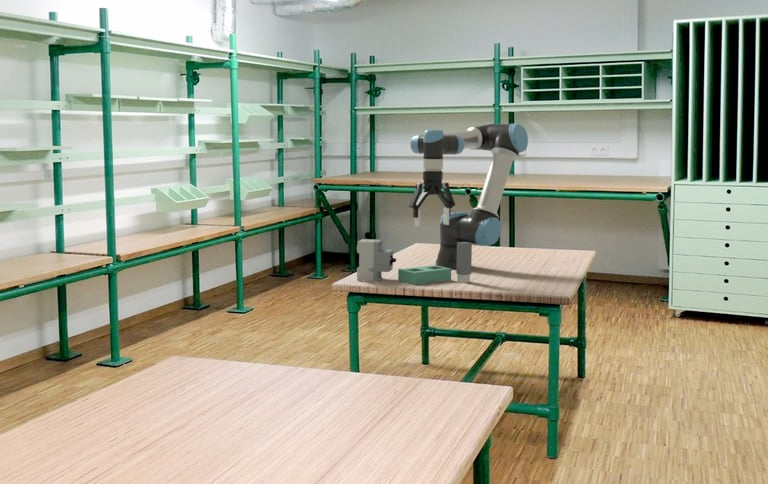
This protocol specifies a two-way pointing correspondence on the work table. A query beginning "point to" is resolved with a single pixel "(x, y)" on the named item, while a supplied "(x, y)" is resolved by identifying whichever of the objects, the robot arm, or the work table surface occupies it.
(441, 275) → the box
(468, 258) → the plug
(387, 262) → the circuit breaker
